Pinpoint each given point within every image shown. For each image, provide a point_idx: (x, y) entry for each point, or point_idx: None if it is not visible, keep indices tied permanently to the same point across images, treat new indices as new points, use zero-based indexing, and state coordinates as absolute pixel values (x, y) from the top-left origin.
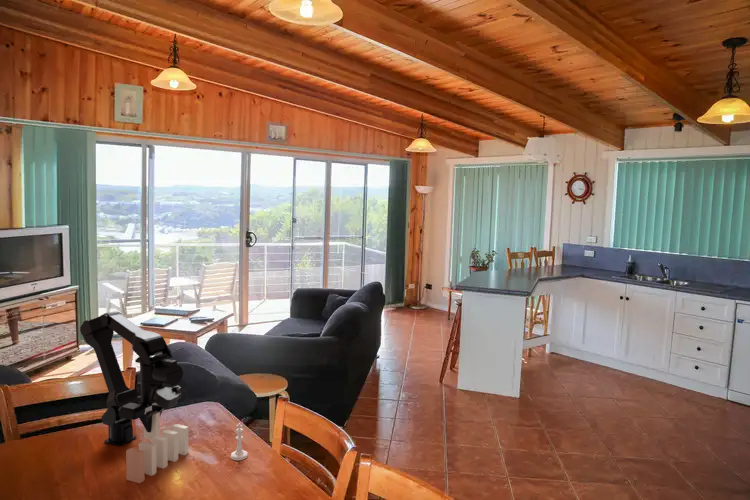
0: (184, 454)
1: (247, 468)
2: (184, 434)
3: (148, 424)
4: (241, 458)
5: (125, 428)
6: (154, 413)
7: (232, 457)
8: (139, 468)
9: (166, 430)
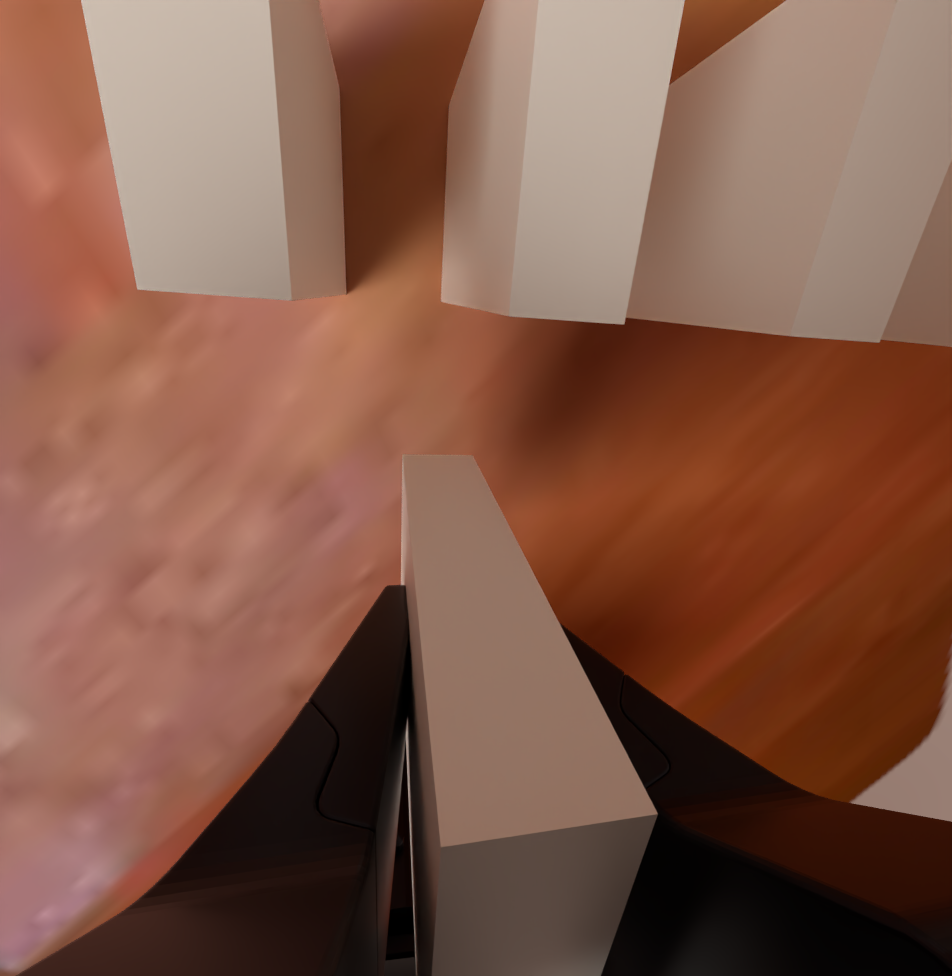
0: (338, 87)
1: None
2: None
3: (598, 668)
4: None
5: (396, 850)
6: (611, 868)
7: None
8: None
9: (550, 256)
